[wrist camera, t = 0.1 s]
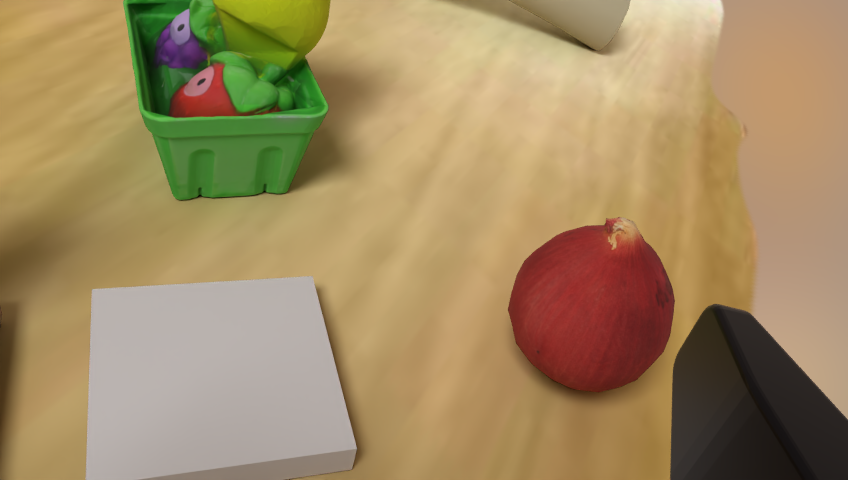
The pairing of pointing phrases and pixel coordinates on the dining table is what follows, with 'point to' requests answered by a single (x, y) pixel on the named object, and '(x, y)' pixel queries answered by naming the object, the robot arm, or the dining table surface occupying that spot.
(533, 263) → the onion
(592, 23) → the flower vase
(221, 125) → the fruit basket
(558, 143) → the dining table surface
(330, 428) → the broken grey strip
